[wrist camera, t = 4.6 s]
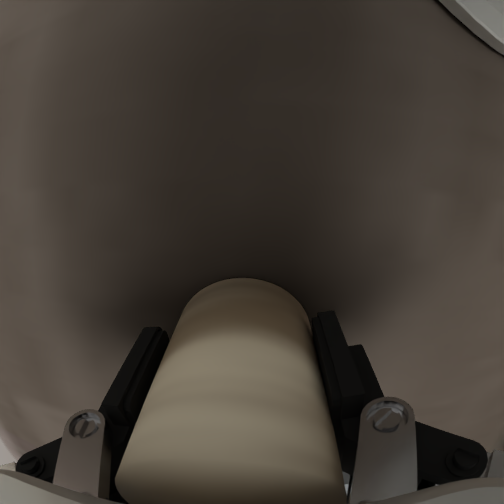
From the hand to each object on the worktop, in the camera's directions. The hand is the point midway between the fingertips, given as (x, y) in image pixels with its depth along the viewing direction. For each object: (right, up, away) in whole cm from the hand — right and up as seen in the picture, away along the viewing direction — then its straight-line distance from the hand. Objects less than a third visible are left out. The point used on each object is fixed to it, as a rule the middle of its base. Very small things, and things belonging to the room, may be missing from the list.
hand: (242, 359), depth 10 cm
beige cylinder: (0, 0, +1) cm, 1 cm away
